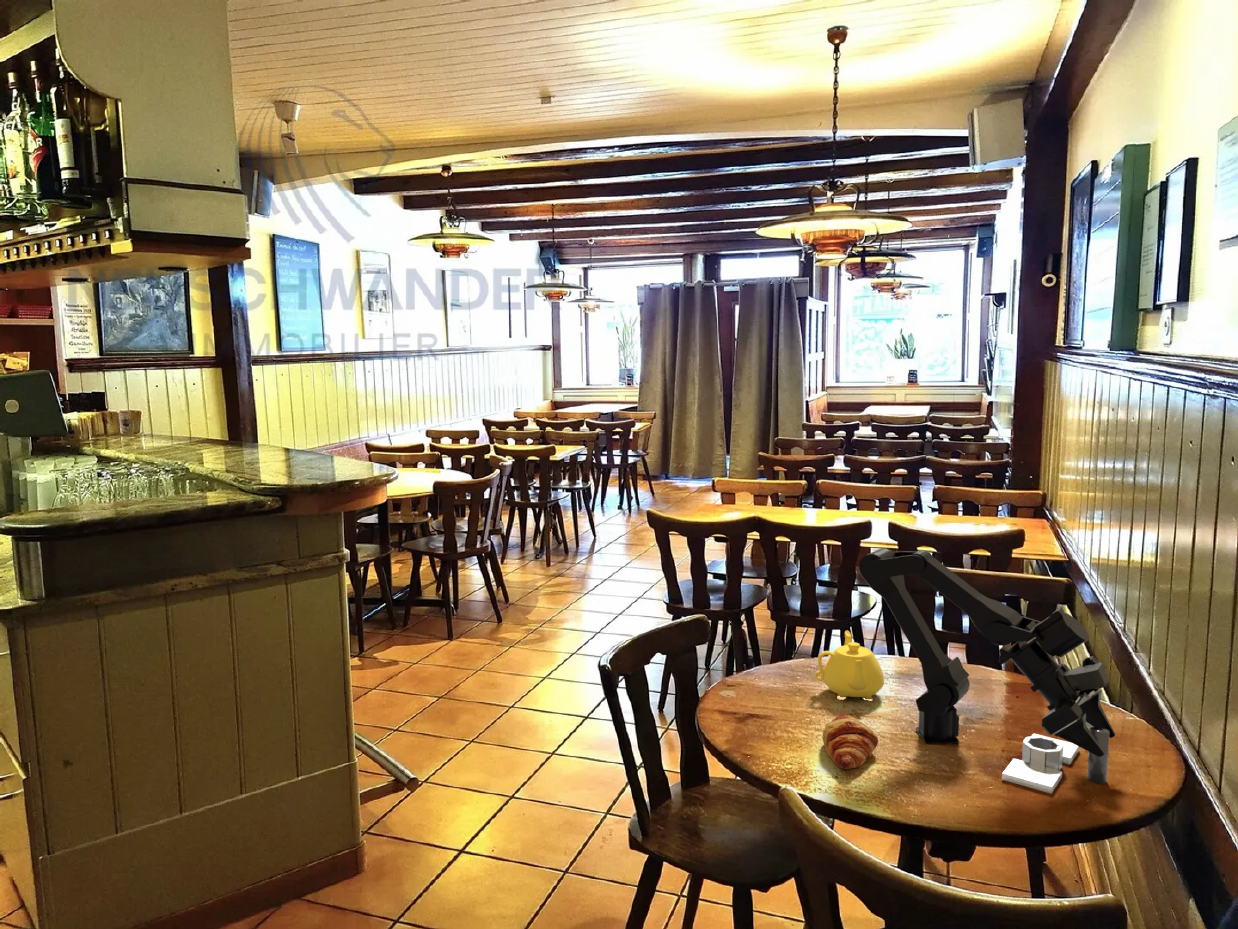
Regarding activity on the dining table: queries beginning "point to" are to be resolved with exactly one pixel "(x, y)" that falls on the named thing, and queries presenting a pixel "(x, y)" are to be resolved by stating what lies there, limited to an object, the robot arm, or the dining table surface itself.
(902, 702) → the dining table surface
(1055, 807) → the dining table surface
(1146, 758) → the dining table surface
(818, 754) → the dining table surface
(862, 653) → the teapot
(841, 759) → the croissant
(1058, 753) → the white piece
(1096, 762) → the hinge pin
